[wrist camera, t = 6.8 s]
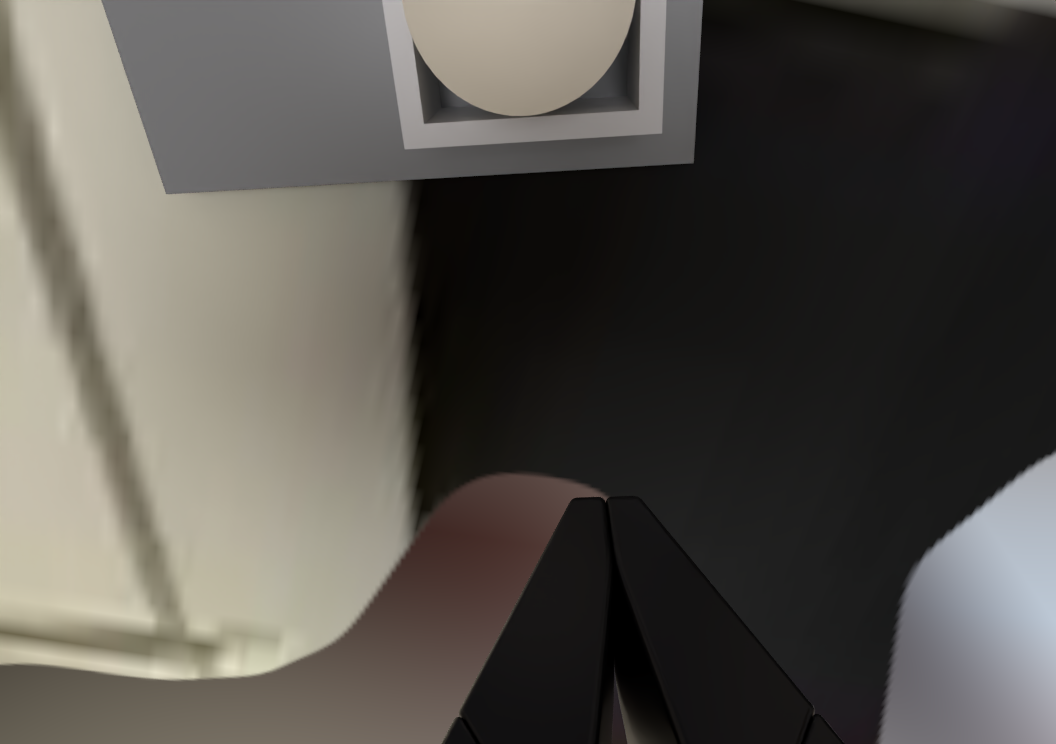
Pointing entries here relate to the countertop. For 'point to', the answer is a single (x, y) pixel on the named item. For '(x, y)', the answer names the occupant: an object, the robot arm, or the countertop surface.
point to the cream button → (518, 48)
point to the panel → (378, 97)
